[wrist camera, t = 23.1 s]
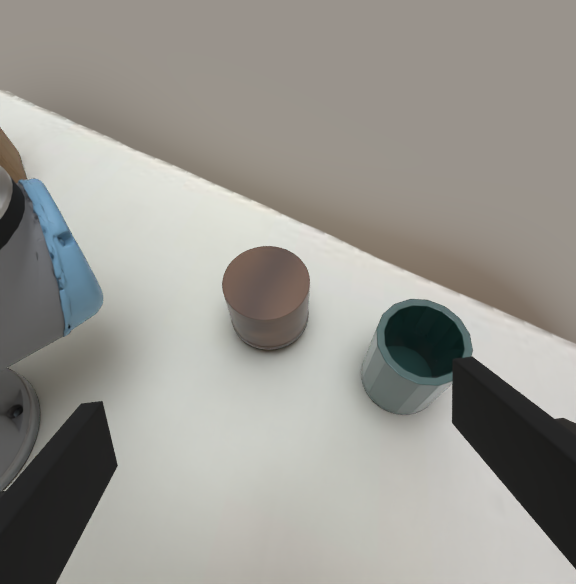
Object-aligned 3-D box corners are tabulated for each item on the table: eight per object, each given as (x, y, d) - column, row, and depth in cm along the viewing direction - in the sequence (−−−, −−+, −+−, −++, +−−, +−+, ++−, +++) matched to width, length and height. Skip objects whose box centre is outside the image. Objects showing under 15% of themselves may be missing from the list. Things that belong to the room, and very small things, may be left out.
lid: (219, 336, 46) (204, 298, 39) (256, 278, 50) (249, 234, 43) (287, 368, 44) (285, 334, 36) (320, 305, 48) (324, 263, 40)
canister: (349, 393, 42) (363, 359, 34) (376, 331, 46) (394, 286, 37) (424, 428, 40) (458, 401, 32) (445, 360, 44) (481, 320, 36)
